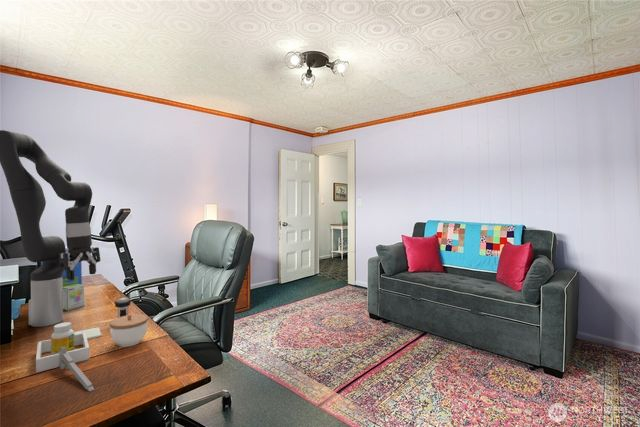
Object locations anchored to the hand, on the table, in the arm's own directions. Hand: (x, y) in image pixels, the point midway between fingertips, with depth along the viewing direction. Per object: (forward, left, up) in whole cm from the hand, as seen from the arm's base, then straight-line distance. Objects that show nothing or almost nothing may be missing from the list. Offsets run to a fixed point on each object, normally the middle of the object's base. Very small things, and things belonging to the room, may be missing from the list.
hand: (82, 276), depth 119 cm
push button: (+16, 0, -18) cm, 24 cm away
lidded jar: (+29, -14, -18) cm, 37 cm away
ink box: (-19, +17, -18) cm, 31 cm away
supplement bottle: (+16, -25, -18) cm, 34 cm away
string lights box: (-31, +24, -18) cm, 43 cm away
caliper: (+30, -35, -19) cm, 50 cm away
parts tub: (+16, -25, -18) cm, 34 cm away
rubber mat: (+10, -10, -18) cm, 23 cm away
